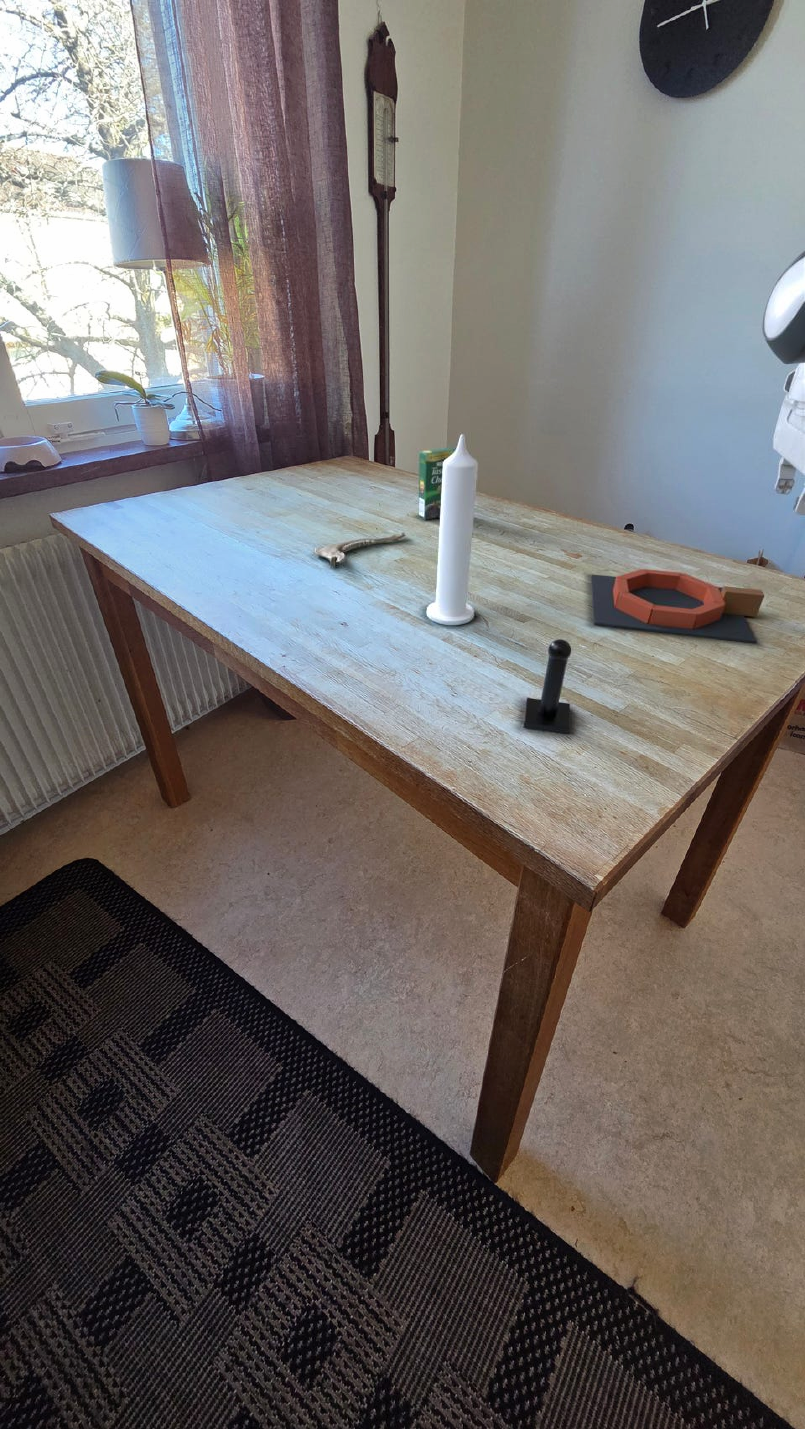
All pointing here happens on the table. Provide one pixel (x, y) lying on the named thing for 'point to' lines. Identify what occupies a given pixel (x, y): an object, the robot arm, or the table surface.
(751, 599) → the hoop
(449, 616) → the candle
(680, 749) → the table surface
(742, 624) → the mat
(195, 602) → the table surface
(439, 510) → the coffee box
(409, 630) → the table surface
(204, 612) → the table surface
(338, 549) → the jawbone
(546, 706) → the peg stand
